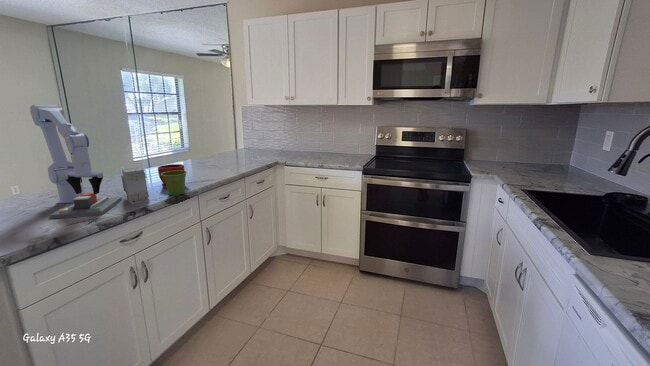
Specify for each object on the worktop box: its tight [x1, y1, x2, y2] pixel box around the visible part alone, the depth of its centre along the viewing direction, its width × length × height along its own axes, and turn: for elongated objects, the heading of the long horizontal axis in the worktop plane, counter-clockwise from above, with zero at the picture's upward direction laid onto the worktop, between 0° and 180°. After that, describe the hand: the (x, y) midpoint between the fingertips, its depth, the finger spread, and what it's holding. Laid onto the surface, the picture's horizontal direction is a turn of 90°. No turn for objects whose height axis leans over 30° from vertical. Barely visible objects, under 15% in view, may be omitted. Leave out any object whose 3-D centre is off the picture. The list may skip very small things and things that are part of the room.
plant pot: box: [161, 170, 188, 197], centre depth 146 cm, size 12×12×11 cm
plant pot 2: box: [157, 163, 186, 189], centre depth 161 cm, size 13×13×12 cm
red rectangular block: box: [79, 191, 98, 204], centre depth 126 cm, size 4×4×5 cm
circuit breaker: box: [120, 167, 150, 205], centre depth 138 cm, size 8×14×15 cm, turn 44°
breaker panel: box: [48, 196, 123, 220], centre depth 125 cm, size 20×18×3 cm
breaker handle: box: [73, 196, 93, 209], centre depth 121 cm, size 3×5×4 cm, turn 105°
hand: (87, 193), depth 125 cm, fingers open, 7 cm apart
